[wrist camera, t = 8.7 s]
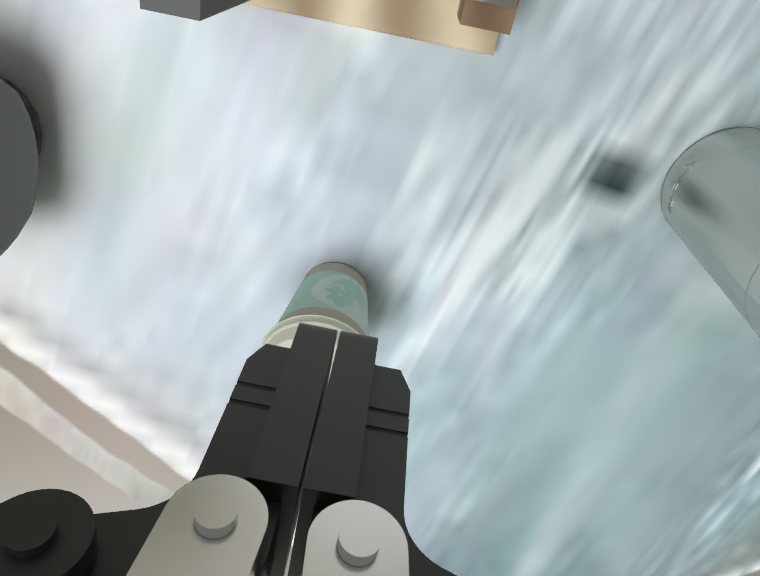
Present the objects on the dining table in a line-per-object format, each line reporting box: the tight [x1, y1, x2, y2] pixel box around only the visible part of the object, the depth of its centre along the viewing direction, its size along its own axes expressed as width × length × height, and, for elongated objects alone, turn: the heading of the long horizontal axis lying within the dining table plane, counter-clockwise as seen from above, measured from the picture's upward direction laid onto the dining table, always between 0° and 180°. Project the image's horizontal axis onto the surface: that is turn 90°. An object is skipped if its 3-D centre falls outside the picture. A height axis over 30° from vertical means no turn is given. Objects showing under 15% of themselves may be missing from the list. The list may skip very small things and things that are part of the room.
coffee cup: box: [261, 262, 369, 382], centre depth 46 cm, size 8×8×12 cm
